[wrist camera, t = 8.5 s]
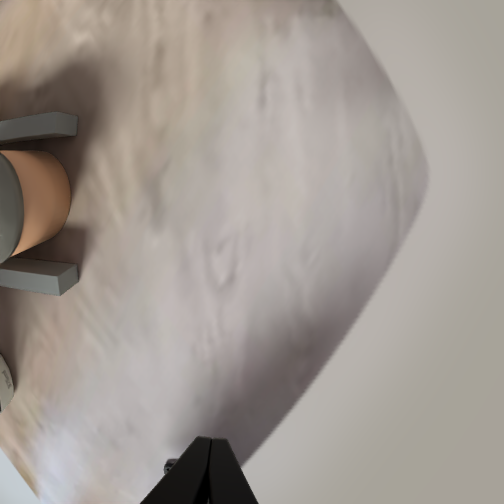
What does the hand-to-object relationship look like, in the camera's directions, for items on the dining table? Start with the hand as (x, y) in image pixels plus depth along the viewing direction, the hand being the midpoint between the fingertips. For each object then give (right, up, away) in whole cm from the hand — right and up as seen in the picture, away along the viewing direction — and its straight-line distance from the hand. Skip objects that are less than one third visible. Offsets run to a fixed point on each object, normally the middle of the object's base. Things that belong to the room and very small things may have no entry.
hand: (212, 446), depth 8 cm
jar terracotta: (-13, +9, +9) cm, 18 cm away
